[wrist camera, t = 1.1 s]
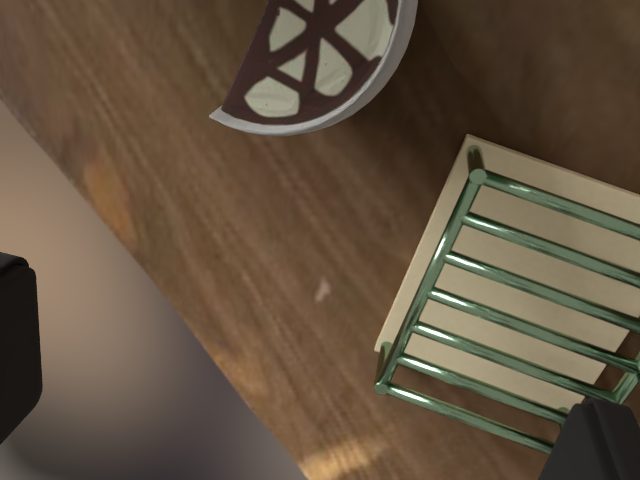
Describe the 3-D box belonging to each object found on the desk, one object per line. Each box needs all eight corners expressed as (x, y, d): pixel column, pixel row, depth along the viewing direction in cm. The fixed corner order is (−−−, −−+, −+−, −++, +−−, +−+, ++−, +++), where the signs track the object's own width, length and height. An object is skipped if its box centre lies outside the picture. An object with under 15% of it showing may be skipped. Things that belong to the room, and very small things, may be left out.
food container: (352, 139, 36) (322, 196, 27) (263, 87, 36) (204, 127, 27) (471, -63, 30) (482, -75, 22) (367, -127, 30) (335, -166, 21)
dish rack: (375, 344, 42) (359, 434, 34) (466, 133, 35) (473, 183, 27) (565, 415, 41) (595, 523, 33) (698, 215, 34) (777, 292, 26)
